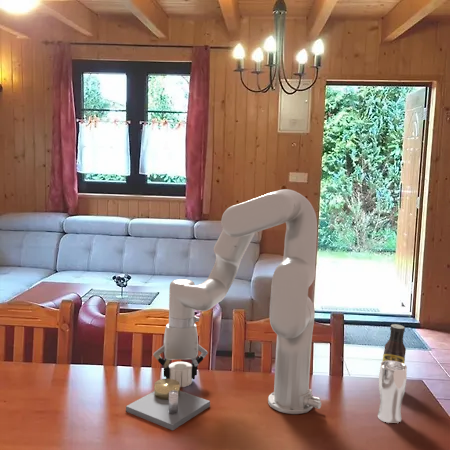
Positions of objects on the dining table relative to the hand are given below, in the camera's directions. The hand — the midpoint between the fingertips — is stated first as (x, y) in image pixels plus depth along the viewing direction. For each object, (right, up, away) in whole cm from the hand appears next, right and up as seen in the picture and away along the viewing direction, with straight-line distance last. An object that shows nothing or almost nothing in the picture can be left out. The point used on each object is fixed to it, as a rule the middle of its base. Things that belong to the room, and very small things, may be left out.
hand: (180, 377), depth 160 cm
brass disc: (-3, -1, -11) cm, 12 cm away
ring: (0, -1, 0) cm, 1 cm away
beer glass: (+58, -6, -18) cm, 61 cm away
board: (-2, -4, -17) cm, 17 cm away
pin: (0, -3, -21) cm, 22 cm away
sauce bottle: (+63, -4, 0) cm, 64 cm away
